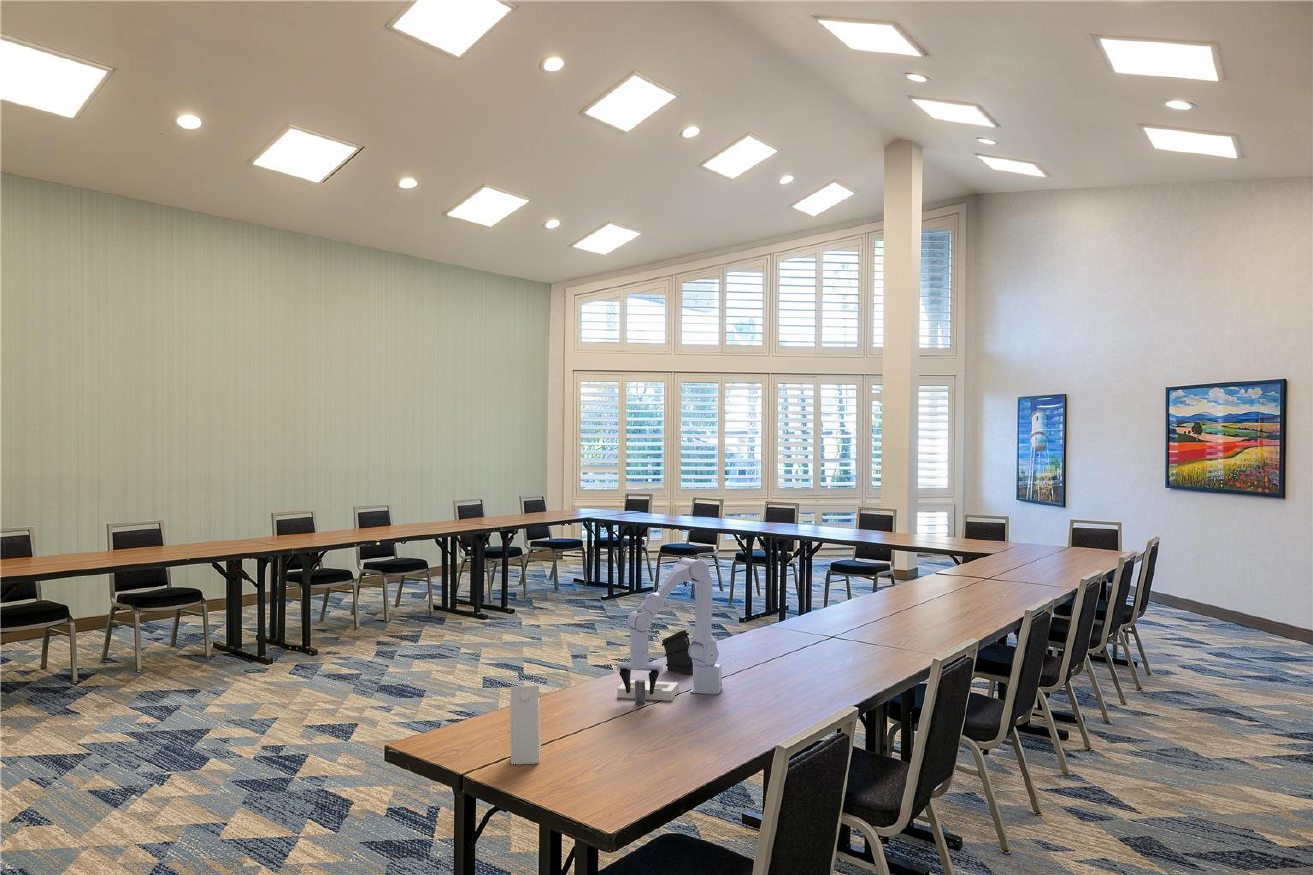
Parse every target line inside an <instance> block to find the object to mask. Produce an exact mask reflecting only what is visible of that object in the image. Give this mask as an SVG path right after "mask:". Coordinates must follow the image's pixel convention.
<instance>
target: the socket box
mask: <svg viewBox="0 0 1313 875" xmlns="http://www.w3.org/2000/svg"><path fill="white" fill-rule="evenodd" d="M636 680H637V679H636ZM636 680H634V679H633V680H631V679H630V693H626V688H625V685H624V682H622V683H621V684H620V685H619V686H618V687H617V694H616V696H617V697H618V698H619V699H632V700H633V699H635V681H636ZM679 688H680V686H679V682H672V681H671V682H669V681H656V683H655V687H654V693H653V694H652V695H650V681H649V680H645V700H653V701H654V700H655V701H673V700H674V698H675V697H676V696H677V694H678V693H680V691H679V690H680V689H679ZM675 695H676V696H675Z"/></svg>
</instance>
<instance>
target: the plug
mask: <svg viewBox="0 0 1313 875" xmlns="http://www.w3.org/2000/svg"><path fill="white" fill-rule="evenodd" d="M645 681H646V680H645V679H636V681H635V701H634V704H635V705H637V706H642V705H643V704H644V705H646V699H645Z"/></svg>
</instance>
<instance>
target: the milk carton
mask: <svg viewBox="0 0 1313 875" xmlns="http://www.w3.org/2000/svg"><path fill="white" fill-rule="evenodd" d="M539 690H540V686H539V685H522V686H521V685H520V686H516V685H515V686H510V702H509V703H510V704H509V708H510V709H509V712H510V714H509V716H510V763H511V764H512V765H513V764H514V765H515V764H516V765H517V766H518V765H531V764H532V765H534V764H535V765H536V764H539V763H540V760H541V752H542V751H541V750H542V748H541V704H540V703H541V702H540V701H541V699H540V698H541V697H540V696H541V695H540V691H539Z"/></svg>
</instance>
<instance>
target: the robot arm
mask: <svg viewBox="0 0 1313 875" xmlns="http://www.w3.org/2000/svg"><path fill="white" fill-rule="evenodd" d="M709 569H710V567H709V565H708V563H705V561H703V560H701V559H694V558H688V557H682V558H680V559H678V561H677V562H676V563H675V564H674V565H673V567H672V570H671V572H670V574H668V576H667V578H666V579H665V580H664V581H663V582H662V584H661V585H660V587H659V588H658V589H657V591H656V592H651V593H650V594H647V595H646V596H645V599H644V600H643V601H642V602H641V604H640V605H639V606H637V607H636V610H634V611H631V612H630V613H629V615H628V616H627V619H626V620H625V622H626V626H627V628H629V641H630V642H629V644H630V646H629V647H630V648H629V649H630V650H629V651H630V653H629V654H630V659H629V660H630V661H627V662H626V661H623V662H619V661H618V662H617V663H616V670H617V671H619V672H618V674H619V676H620V678H621V679H622V683H624V685H625V688H626V693H630V680H631V672H632V671H647V672H648V671H649V672H648V681H650V695H652V694H653V693H654V687H655V683H656V682H657V680H658V677H659V674H660V673H662V672H663V664H660V663H655V662H650V661H649V660H650V659H649V629H651V627H652V624H653V620H654V618H655V616H656V615H657V614H658V613H659V612H660V611H661V609H662V608H663V607H664V606H665V599H667V597H668V596H669V595H670V594H671V593H672V592H673V591H674V590H675V589H676V588H677V587H678V585H680V584H681V583H684V582H691V583H692V585H694V586H695V610H694V611H695V613H694V614H695V616H694V618H695V619H694V620H695V622H694V624H695V625H694V634H693V635H692V636H691V638H690V646H689V649H688V653H689V656H690V657H691V658H692V662H693V674H692V680H693V681H692V685H693V686H692V688H691V689H690V691H689V692H690V693H691V694H704V695H705V694H709V695H719V694H720V692H721V691H722V689H723V668H722V664H720V663H719V664H718V663H717V661H718V659H719V654H720V652H719V649H718V645H717V640H716V638H715V637H714V636H713V634H712V630H713V628H712V627H713V626H712V625H713V623H712V622H713V620H712V619H713V618H712V617H713V579H712V577H711V574H710V570H709Z"/></svg>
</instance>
